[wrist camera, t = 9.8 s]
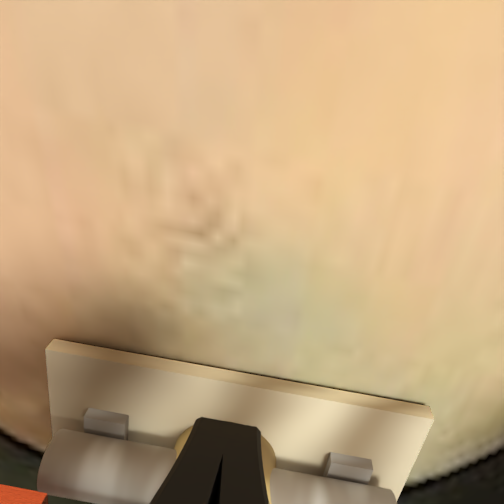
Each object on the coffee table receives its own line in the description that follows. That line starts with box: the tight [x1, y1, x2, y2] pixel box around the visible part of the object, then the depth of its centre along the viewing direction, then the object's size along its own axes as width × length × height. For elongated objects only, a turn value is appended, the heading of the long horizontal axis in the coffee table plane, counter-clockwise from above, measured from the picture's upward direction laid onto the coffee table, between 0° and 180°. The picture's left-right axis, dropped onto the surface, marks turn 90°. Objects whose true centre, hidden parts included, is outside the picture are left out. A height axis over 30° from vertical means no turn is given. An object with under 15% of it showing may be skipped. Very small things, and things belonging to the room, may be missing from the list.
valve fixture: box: [37, 339, 434, 504], centre depth 21 cm, size 18×10×5 cm, turn 82°
